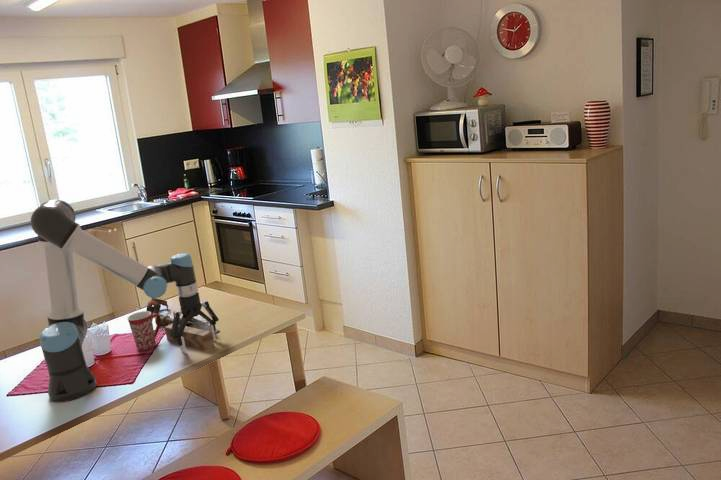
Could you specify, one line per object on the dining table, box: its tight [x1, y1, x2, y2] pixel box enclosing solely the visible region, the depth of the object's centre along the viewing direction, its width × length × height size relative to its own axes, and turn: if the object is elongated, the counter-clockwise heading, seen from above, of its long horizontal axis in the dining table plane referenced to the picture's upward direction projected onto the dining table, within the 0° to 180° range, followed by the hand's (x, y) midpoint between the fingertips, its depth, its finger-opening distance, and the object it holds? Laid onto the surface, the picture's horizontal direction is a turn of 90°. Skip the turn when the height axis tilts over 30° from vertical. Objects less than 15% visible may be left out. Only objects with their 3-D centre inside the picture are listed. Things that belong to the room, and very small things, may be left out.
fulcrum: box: [192, 315, 221, 334], centre depth 243 cm, size 8×12×6 cm, turn 44°
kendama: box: [154, 314, 193, 327], centre depth 253 cm, size 6×10×20 cm
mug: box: [126, 310, 161, 351], centre depth 236 cm, size 13×9×14 cm
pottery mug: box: [145, 298, 169, 315], centre depth 273 cm, size 12×10×8 cm
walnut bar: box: [164, 323, 215, 351], centre depth 234 cm, size 24×4×6 cm, turn 54°
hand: (199, 346), depth 230 cm, fingers open, 12 cm apart
